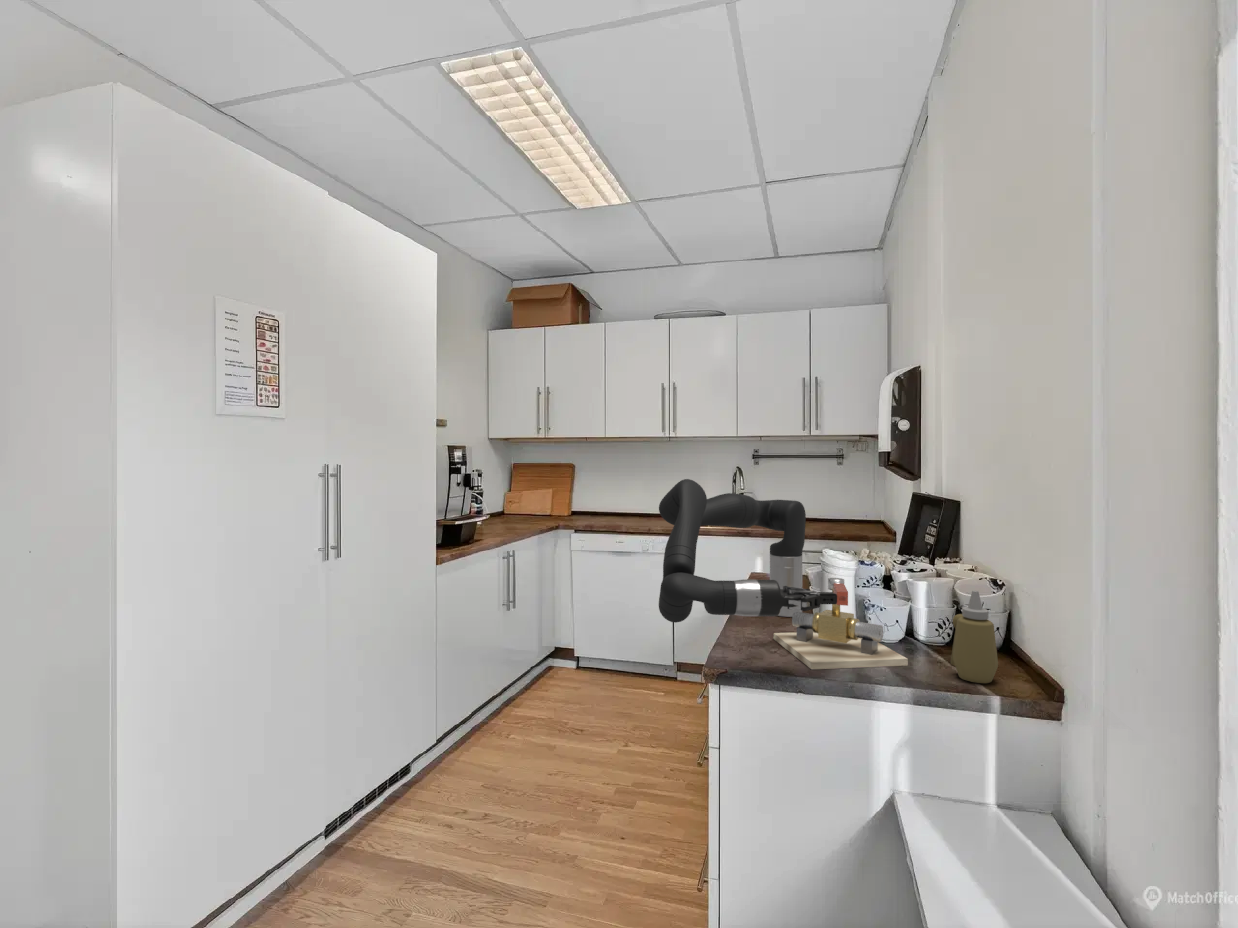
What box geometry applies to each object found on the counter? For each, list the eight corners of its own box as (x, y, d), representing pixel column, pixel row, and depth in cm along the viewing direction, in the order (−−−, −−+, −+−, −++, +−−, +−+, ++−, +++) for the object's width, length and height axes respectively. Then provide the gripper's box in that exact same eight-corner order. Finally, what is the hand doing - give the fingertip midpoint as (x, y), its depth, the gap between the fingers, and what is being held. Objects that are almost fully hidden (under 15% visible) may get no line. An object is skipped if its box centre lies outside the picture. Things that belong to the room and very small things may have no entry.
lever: (827, 587, 142) (827, 575, 142) (843, 588, 141) (843, 576, 141) (833, 604, 125) (833, 591, 125) (851, 605, 124) (851, 592, 124)
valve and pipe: (790, 639, 144) (790, 586, 144) (799, 634, 148) (799, 582, 148) (877, 656, 131) (877, 598, 131) (884, 650, 136) (884, 593, 136)
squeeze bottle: (990, 674, 125) (991, 588, 125) (1004, 688, 117) (1004, 597, 117) (947, 670, 127) (948, 586, 127) (958, 683, 119) (958, 594, 119)
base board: (773, 638, 150) (773, 633, 150) (856, 636, 152) (856, 630, 152) (811, 669, 128) (811, 662, 128) (907, 665, 130) (907, 658, 130)
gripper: (764, 586, 118) (849, 586, 119) (746, 574, 131) (823, 574, 132) (763, 624, 118) (849, 624, 119) (745, 608, 131) (822, 608, 132)
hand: (835, 598), depth 125 cm, fingers closed
